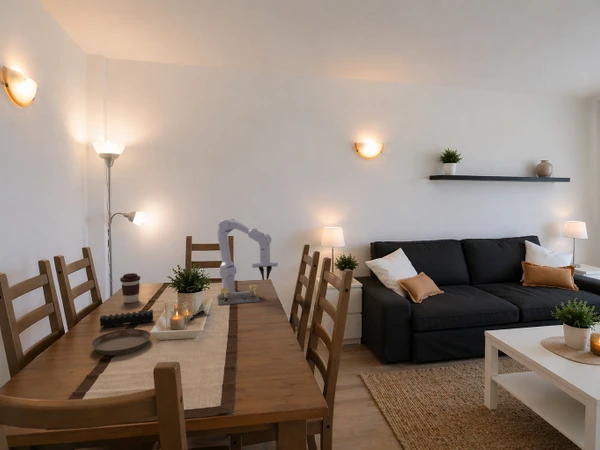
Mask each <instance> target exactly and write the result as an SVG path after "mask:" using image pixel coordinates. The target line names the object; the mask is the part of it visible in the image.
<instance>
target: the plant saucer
mask: <svg viewBox="0 0 600 450" xmlns="http://www.w3.org/2000/svg"><path fill="white" fill-rule="evenodd" d="M151 337H152V334H151V332H149V330H145V329H141V328H140V329H139V328H126V329H119V330H114V331H110V332H107V333H104V334H101V335H99V336H97V337H95V338H94V339H93V340H92V341H91V342H90V343H91V344H90V345H91V347H92V349H93V350H95V351H96V352H97V353H99V354H102V355H105V356H119V354H120V355H124V354H125V353H126V354H129V352H130V353H132V352H133V353H134V352H136V351H137V350H140V349H141V348H143V347H144V346H145V345H146V344H147V343H148V342H149V341H150V339H151Z"/></svg>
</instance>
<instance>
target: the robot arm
mask: <svg viewBox="0 0 600 450" xmlns="http://www.w3.org/2000/svg"><path fill="white" fill-rule="evenodd" d="M234 230H238V231H240V232H242V233H244V234H246V235H248V238H250V239H252V240H253V241H255V242H257V243H258V245H259V262H258V263H252V264H251V267H252V268H253V269H255V268H258V269H259V270H258V271H259V272H260V274H261V280H262V281H265V277H266V280H269V278H270V274H271V271H272V269H273V267H279V264H278V262H271V243H272V236H271V235H269V234H268V233H267V234H265V232H261V231H259V230H258V229H257V228H250V227H248V226H246V225H245V224H243V223H241V222H240V221H238V220H236V219H235V218H229V219H222V220H221V221H220V222H218V230H217V238H218V239H217V240H218V244H219V245H218V246H219V251H220V258H221V264H220V265H219V276H220V277H221V285H222V286H221V288H224V287H228V289H229V293H232V292H236V289H235V275H236V274H237V268H236V267H235V262H233V261H232V258H231V252H230V243H229V239H228V238H229V237H228V235H229V234H230V233H231V232H232V231H234ZM265 270H266V276H265V274H264V273H265Z"/></svg>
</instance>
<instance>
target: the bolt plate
mask: <svg viewBox="0 0 600 450" xmlns="http://www.w3.org/2000/svg"><path fill="white" fill-rule="evenodd" d="M216 299H217V305H218V306H222V305H223V306H225V305H226V306H227V305H237V304H238V305H239V304H250V303H259V302H260V298H259V296H258V295H257V296H256V297H255V298H254V296H249V297H236V298H226V301H225V300H224V299H218V295H217V298H216Z"/></svg>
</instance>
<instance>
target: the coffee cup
mask: <svg viewBox="0 0 600 450" xmlns="http://www.w3.org/2000/svg"><path fill="white" fill-rule="evenodd" d="M119 280H120V282H121V291H122V296H123V302H124V303H126V304H131V303H136V302H139V296H140V280H141V276H140V275H138V273H134V272H133V273H131V272H130V273H125V274H123V275H122V277H120V279H119Z"/></svg>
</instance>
